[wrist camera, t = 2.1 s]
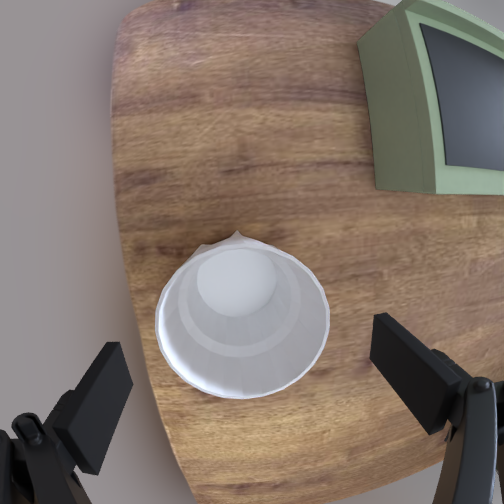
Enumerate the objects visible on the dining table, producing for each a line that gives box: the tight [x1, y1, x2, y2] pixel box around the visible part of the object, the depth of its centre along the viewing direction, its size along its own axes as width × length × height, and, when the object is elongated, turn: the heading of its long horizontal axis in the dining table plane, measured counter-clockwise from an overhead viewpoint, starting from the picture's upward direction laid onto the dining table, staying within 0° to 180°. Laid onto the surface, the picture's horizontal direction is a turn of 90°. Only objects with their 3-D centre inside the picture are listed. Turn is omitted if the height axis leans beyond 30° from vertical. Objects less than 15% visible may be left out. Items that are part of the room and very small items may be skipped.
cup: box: [155, 230, 330, 399], centre depth 21 cm, size 10×10×10 cm
